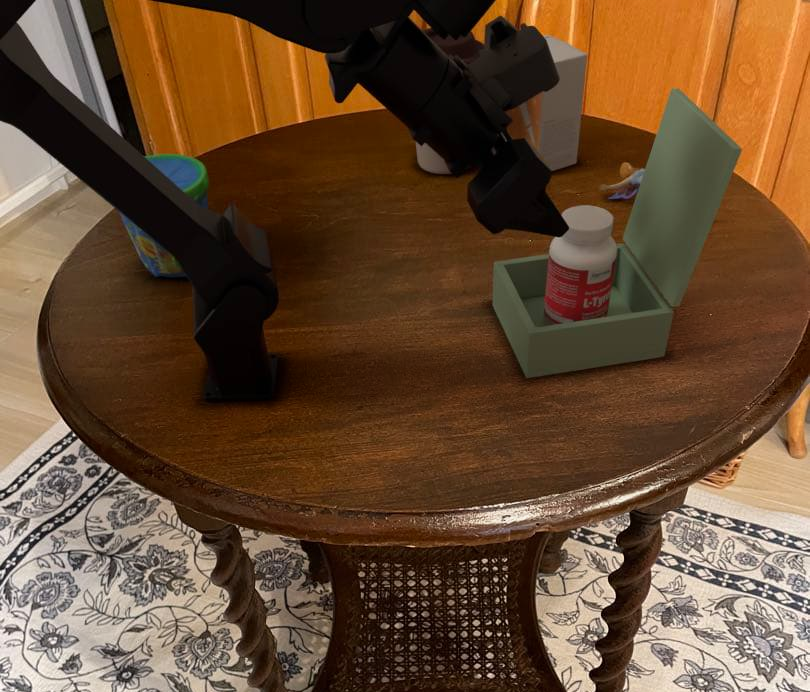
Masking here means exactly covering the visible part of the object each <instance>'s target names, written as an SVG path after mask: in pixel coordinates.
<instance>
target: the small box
mask: <svg viewBox="0 0 810 692" xmlns="http://www.w3.org/2000/svg"><path fill="white" fill-rule="evenodd" d="M543 36H544V38H545V39H546V40H547V43H548V46H549V49H550V52H551V55H552V57H553V60H554V63H555V66H556V69H557V72H558V75H559V77H560V80H559V82H558V84H557V85H556V86H555V87H554V88H552V89H551V90H549V91H547V92H544V91H543V92H541V93H539V94H538V95H536V96H534V97H533V98H531V99H529V100H528V101H526V102H524V103H523V104H521V105H519V106H518V107H516V108H514V109H511V110H507V113H508V114H509V115H510V116H511V118H512V119H513V121H512V122H511V123H510V125H509V126H508V127H507V132H508V133H509V135H510V136H511V138H512V139H519V138H525V139H526V140H527V141H528V142H529V143H530V144H531V145H532V146H533V147H534V148H535V149H536V150H537V151H538V152H539V154H540V155H541V156H542V157H543V158H544V160H545V161H546V163H547V164H548V166H549V167H550V169H551V170H552V172H553V171H557V170H561V169H563V168H567V167H570V166H573V165H575V164H577V162H578V152H579V143H580V132H581V124H582V123H581V122H582V114H583V103H584V94H585V93H584V92H585V82H586V73H587V64H588V63H587V62H588V53H586V52H585V51H582V50H580V49H578V48H576V47H574V46H573V45H572V44H570V43H569V42H567V41H563V40H560V39H559V38H557V37H554V36H553V35H551V34H544V35H543Z"/></svg>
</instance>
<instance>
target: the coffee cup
mask: <svg viewBox="0 0 810 692" xmlns="http://www.w3.org/2000/svg"><path fill="white" fill-rule="evenodd" d="M422 31H423V32H424V33H425V34H426V35H427V36H428V37H429V38H430V39H431V40H432V41H433V42H434V43H435V44H436V45H437V46H438V47H439V48H440V49H441V50H442V51H443V52H444V53H445V54H446V55H447V56H448V55H449V54H450V55H451V56H452V57H453V58H454V57H455V55H457V56H458V57H459V58H460V59H461V60H462V61H463V62H464V63H465V64H466V65H469V64H470V63H471V62H473V61H474V60H476V59H477V58H479V57H480V54H479V51H480V50H481V49H484V42H482V41H479V39H478V40H477V39H476V37H475V35H474V33H473V32H472V31H471V32H470V33H469V34H468V35H467V36H466V38H464V37H463V36H462V35H461V36H460V37H459V38H458V39H457V40H455V39H453V38H452V37H451V36H450V35H449V36H448V37H447V38H446V39H445V40H444V39H442V38H441V37H440V36H439V35H438V34H437V33H436V32H435V31H434V30H433V29H432V28H431V27H429V28H425V29H422ZM484 51H485V50H484ZM415 148H416V149H415V150H416V158H417V164H418V166H419V167H420V168H421V169H422V170H424V171H426V172H429V173H431V174H435V175H436V174H437V175H453V174H452V173H451V172H450V171H449V170H448V168H447V166H446V164H445V162H444V161H445V160H444V159H443V158H441V157H440V156H439V155H438V154H437V153H436V152H435V151H434V150H432V149H431V148H430V147H429V146H428V145H427V144H426V143H424V144H423V145H422V146H420V145H419V144H418V143H417V142H416V141H415ZM469 168H470V167H469V166H468V168H467V169H469Z"/></svg>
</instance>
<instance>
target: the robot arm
mask: <svg viewBox="0 0 810 692" xmlns="http://www.w3.org/2000/svg"><path fill="white" fill-rule="evenodd" d="M36 1H37V0H0V122H1V123H4V124H7V125H9V126H12V127H14V128H15V129H17V130H19V131H20V132H22V133H23V134H24V135H25V136H26V137H27V138H29V139H30V140H31V141H33V142H34V143H35V144H36V145H37V146H39V147H40V148H41V149H42V150H43V151H45V153H47V154H48V155H50V157H52V158H53V159H54V160H56V161H57V162H58V163H59V164H60V165H61V166H63V168H65V169H66V170H68V171H69V172H70V173H71V174H73V175H74V176H75V177H76V178H77V179H79V180H80V181H81V182H82V183H83V184H84V185H86V186H87V187H89V188H90V189H91V190H92V191H93V192H95V193H96V195H98V196H99V197H101V198H102V199H103V200H104V201H105V202H107V203H108V204H109V205H110V206H112V207H113V208H114V209H115V210H116V211H118V213H119V212H120V213H121V214H123V215H124V216H125V217H126V218H128V219H129V220H130V221H131V222H132V223H134V224H135V225H136V226H137V227H139V228H140V229H141V230H142V231H143V232H145V233H146V234H147V235H148V236H150V237H151V238H152V239H153V240H154V241H156V242H157V243H158V244H159V245H160V246H162V247H163V248H164V249H165V250H167V251H168V252H169V253H170V254H171V255H172V256H173V257H174V258H175V260H176V261H177V263H178V264H179V266H180V267H181V269H182V270H183V272H184V273H185V275H186V277H185V278H187V280H188V281H189V283H190V285H191V290H192V292H191V293H192V295H191V297H192V317H193V318H192V320H193V321H192V323H193V340H194V341H195V342H196V344H197V345H198V346H199V348H200V349H201V350H202V352H203V354H204V356H205V361H206V365H207V369H208V372H207V373H208V374H207V378H206V382H205V386H204V390H203V394H202V395H203V396H202V397H203V399H204V401H206V402H226V401H228V402H229V401H251V400H255V401H256V400H269V399H272V398H273V397H274V393H275V386H276V380H277V374H278V367H279V361H280V359H279V355H278V354H277V353H269V352H268V347H267V342H266V337H265V333H264V323H265V321H267V320H268V319H270V318H271V316H273V314H275V312H276V310H277V307H278V304H279V301H280V299H279V292H280V291H279V286H278V281H277V273H276V268H275V263H274V261H275V260H274V256H273V252H272V249H271V247H270V246H269V242H268V238H267V237H268V236H267V231H266V230H264V229H262V228H260V227H257V226H255V225H254V224H252V223H251V222H250V221H249V220H248V219H247V217H245V215H244V214H243V213H242V212H241V210H240V209H239V207H237V206H236V205H235V204H234V203H230V204H229V206H227V209H226V210H225V211H224V213H223V214H221V213H219V212H215V211H212V210H209V209H208V210H206V209H204V208H202V207H201V206H199V205H198V204H197V203H196V202H195V201H193V200H192V199H191V198H190V197H189V196H188V195H187V194H186V193H184V192H183V191H182V190H181V189H180V188H179V187H178V186H177V185H175V184H174V183H173V182H172V181H171V180H170V179H169V178H168V177H166V176H165V175H164V174H163V173H162V172H161V171H160V170H159V169H158V168H156V167H155V166H154V165H153V164H152V163H151V162H150V161H149V160H147V159H146V158H145V157H146V156H144V155H143V154H142V153H141V152H140V151H139V150H138V149H136V148H135V147H134V146H133V145H131V143H130V142H129V141H128V140H126V139H125V138H124V137H123V136H122V135H121V134H119V133H118V132H117V131H116V130H115V129H114V128H112V126H111V125H109V124H108V123H107V122H106V121H105V120H104V119H103V118H101V116H99V115H98V114H97V113H96V112H95V111H94V110H92V109H91V108H90V107H89V106H88V105H87V104H86V103H85V102H83V101H82V99H80V98H79V97H78V96H77V95H76V94H74V92H72V91H71V90H70V89H69V88H68V87H67V86H66V85H64V84H63V83H62V82H61V81H60V80H59V79H58V78H57V77H56V76H55V75H54V74H53V72H51V71H50V69H49V68H48V67H47V65H46V64H45V62H44V60H43V59H42V57H41V55H40V54H39V53H38V51H37V49H36V48H35V46H34V44H33V43H32V42H31V40H30V38H28V36H27V34H26V33H25V31H24V29H23V28H22V26H21V25H20V24H19V23H18V21H19V20H20V19H21V18H22V17H23V16H24V15H25V13H27V11H28V10H29V9H30V8H31V7H32V5H33V4H34V3H35V2H36ZM149 1H152V2H156V3H163V4H167V5H168V4H170V5H173V6H178V7H179V6H181V7H185V8H191V9H196V10H203V11H209V12H214V13H221V14H226V15H229V16H230V15H231V16H233V17H235V18H238V19H241V20H243V21H247V22H249V23H251V24H252V25H254V26H256V27H258V28H259V29H262V30H263V31H265V32H267V33H269V34H271V35H273V36H275V37H277V38H279V39H281V40H284V41H286V42H289V43H292V44H295V45H298V46H300V47H303V48H305V49H309V50H311V51H314V52H317V53H320V54H324V60H325V63H326V66H327V69H328V75H329V76H328V84H329V89H330V92H331V94H332V96H333V99H334V102H335V103H336V104H343V103H344V102H345V101H346V99H347V98H348V97H349V95H350V94H351V93H352V91H354V89H355V88H356V87H357V85H359V86H360V87H362V89H364V91H366V92H367V93H369V95H371V97H373V98H374V99H375V100H376V101H377V102H378V103H380V104H381V105H382V106H383V107H384V108H385V109H386V110H387V111H389V112H390V113H391V114H392V115H393V116H394V117H395V118H396V119H398V121H400V123H402V124H403V125H405V126H406V128H407V130H408V132H409V134H410V137H411V139H412V140H414V141H415V143H416V142H417V143H418V144H419V145H420V146H422V145H423V144H424V143H426V144H427V145H428V146H429V147H430V148H431V149H432V150H434V151H435V152H436V153H437V154H438V155H439V156H440V157H441V158H443V159H444V160H445V161H444V162H445V164H446V166H447V168H448V170H449V171H450V172H451V173H452V174H451V175H453V176H454V177H456V179H459V178H460V177H461V175H463V173H464V172H465V171H466V170H468V169H469V168H471V169H472V168H474V167H475V168H478V169H480V170H479V171H478V172H477V173H476V175H475V176H474V177H473V178H472V179H471V180H470V181H469V182H468V183H467V189H466V191H467V192H466V193H467V196H466V199H467V200H466V201H467V203H468V205H469V207H470V209H471V211H472V213H473V215H474V217H475V220H476V221H477V222H478V223H479V224H480V225H481V226H482V227H484V228H485V229H486V230H487V231H488V232H490V233H491V234H492V235H498V234H500V233H502V232H503V231H505V230H509V231H510V230H511V231H520V232H527V233H532V234H538V235H544V236H548V237H553V238H555V237H559V238H560V237H562V236H563V235H564V234H565V233H566V232H567V231H568V230H569V226H568V224H567V223H566V221H565V220H564V218H563V217H562V213H561V212H560V211H559V209H558V208H557V206H556V205H555V203H554V201H553V200H552V198H551V197H550V195H549V194H548V192H547V186H548V184H550V182H551V179H552V175H553V171H552V170H551V169H550V167H549V166H548V164H547V163H546V161H545V160H544V158H543V157H542V156H541V155H540V154H539V152H538V151H537V150H536V149H535V148H534V147H533V146H532V145H531V144H530V143H529V142H528V141H527V140H526V139H525V138H519V139H512V138H511V136H510V135H509V133H508V132H507V127H508V126H509V125H510V123H511V122H512V121H513V119H512V118H511V116H510V115H509V114H508V113H507V110H511V109H514V108H516V107H518V106H519V105H521V104H523V103H524V102H526V101H528V100H529V99H531V98H533V97H534V96H536V95H538V94H539V93H541V92H543V91H544V92H547V91H549V90H551V89H552V88H554V87H555V86H556V85H557V84H558V82H559V80H560V77H559V75H558V72H557V69H556V66H555V63H554V60H553V57H552V55H551V52H550V49H549V46H548V43H547V40H546V39H545V38H544V35H543V34H542V33H541V32H540V30H539V29H538V28H537V27H536V26H535V25H527V24H526V22H523V23H521V24H520V25H519V27H520V29H517V27H516V26H515V25H513V23H511V22H510V21H509V20H507V19H506V18H505V17H504V16H502V15H498V16H497V17H496V18H494V19H493V20H491V21H489V22H488V23H486V24H485V25H484V38H483V39H484V40H483V44H484V49H481V50H480V51H479V54H480V57H479V58H477V59H476V60H474V61H473V62H471V63H470V64H469V65H466V64H465V63H464V62H463V61H462V60H461V59H460V58H459V57H458V56H457V55H455V57H454V58H453V57H452V56H451V55H450V54H449V55H448V56H447V55H446V54H445V53H444V52H443V51H442V50H441V49H440V48H439V47H438V46H437V45H436V44H435V43H434V42H433V41H432V40H431V39H430V38H429V37H428V36H427V35H426V34H425V33H424V32H423V29H422V28H421V27H420V26H418V25H417V24H416V23H415V22H414V20H413V19H411V18H410V16H411V14H412V13H413V12H414V11H415V13H416V14H417V15H418V16H419V17H420V18H421V19H422V20H423V21H424V22H425V23H426V24H427V25H428V27H429V28H432V29H433V30H434V31H435V32H436V33H437V34H438V35H439V36H440V37H441V38H442V39H444V40H445V39H446V38H447V37H448V36H449V35H450V36H451V37H452V38H453V39H455V40H457V39H458V38H459V37H460V36H461V35H462V36H463V37H464V38H466V36H467V35H468V34H469V33H470V32H472V31H473V29H474V28H475V27H476V26H477V25H478V23H479V22H480V21H481V19H482V18H483V17H484V16H485V15H486V13H487V12H488V11H489V10H490V8H491V7H493V5H494V4H495V2H496V1H497V0H149ZM484 50H485V51H484ZM468 166H469V168H468ZM120 213H119V214H120Z"/></svg>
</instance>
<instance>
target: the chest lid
mask: <svg viewBox="0 0 810 692" xmlns="http://www.w3.org/2000/svg"><path fill="white" fill-rule="evenodd" d="M655 135H656V136H655V138H654V141H653V144H652V147H651V151H650V153H649V156H648V160H647V163H646V166H645V168H644V169H645V171H644V174H643V177H642V181H641V184H640V185H639V186H640V187H638V190H637V192H636V196H635V199H634V202H633V205H632V208H631V211H630V214H629V217H628V221H627V224H626V227H625V228H624V229H625V230H624V233H623V236H622V240H623V241H624V243H625V244H626V245H627V247H628V248H629V249H630V251H631V252H632V254H633V255H634V256H635V258H636V259H637V261H638V262H639V263H640V265H641V266H642V268H643V269H644V270H645V272H646V273H647V275H648V276H649V277H650V279H651V280H652V282H653V283H654V284H655V286H656V287H657V289H658V290H659V291H660V293H661V294H662V296H663V297H664V298H665V300H666V301H667V303H668V304H669V305H670V307H671V308H680V305H681V303H682V301H683V298H684V296H685V293H686V291H687V288H688V285H689V283H690V281H691V279H692V276H693V274H694V270H695V268H696V266H697V263H698V260H699V258H700V256H701V254H702V250H703V248H704V246H705V243H706V241H707V238H708V235H709V234H710V231H711V229H712V226H713V223H714V221H715V219H716V216H717V214H718V211H719V208H720V206H721V203H722V201H723V199H724V196H725V193H726V191H727V188H728V186H729V183H730V182H731V178H732V176H733V174H734V171H735V169H736V167H737V164H738V161H739V158H740V156H741V154H742V151H743V148H742V147H741V146H740V145H739V144H738V143H737V142H736V141H735V140H734V139H733V138H732V137H730V136H729V135H728V134H727V132H725V131H724V130H723V129H722V128H721V127H720V126H719V125H718V123H716V122H715V121H713V120H712V118H711V117H709V116H708V114H707V113H706V112H704V111H703V109H702V108H700V107H699V106H698V105H697V104H696V103H695V102H694V101H692V99H691V98H689V96H687V94H685V93H684V92H683V91H682V90H681V89H680V88H674V87H671V89H670V92H669V95H668V98H667V101H666V104H665V106H664V110H663V113H662V117H661V119H660V123H659V126H658V129H657V132H656V134H655Z"/></svg>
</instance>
